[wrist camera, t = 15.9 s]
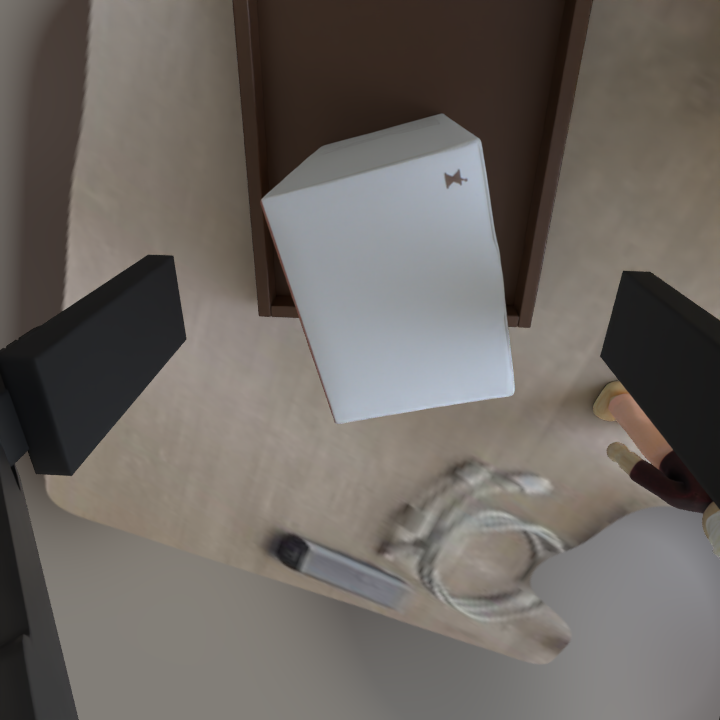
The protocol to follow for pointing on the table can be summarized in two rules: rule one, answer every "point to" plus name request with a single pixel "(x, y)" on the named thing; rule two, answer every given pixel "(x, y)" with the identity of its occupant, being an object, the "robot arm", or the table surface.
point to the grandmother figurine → (655, 460)
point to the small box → (396, 270)
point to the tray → (413, 104)
